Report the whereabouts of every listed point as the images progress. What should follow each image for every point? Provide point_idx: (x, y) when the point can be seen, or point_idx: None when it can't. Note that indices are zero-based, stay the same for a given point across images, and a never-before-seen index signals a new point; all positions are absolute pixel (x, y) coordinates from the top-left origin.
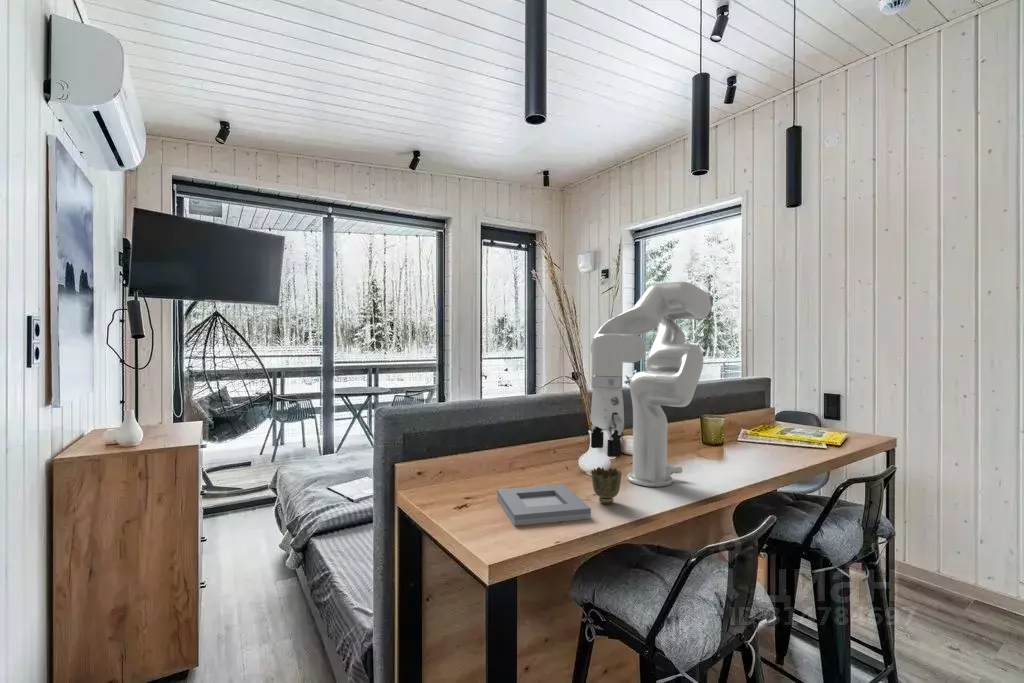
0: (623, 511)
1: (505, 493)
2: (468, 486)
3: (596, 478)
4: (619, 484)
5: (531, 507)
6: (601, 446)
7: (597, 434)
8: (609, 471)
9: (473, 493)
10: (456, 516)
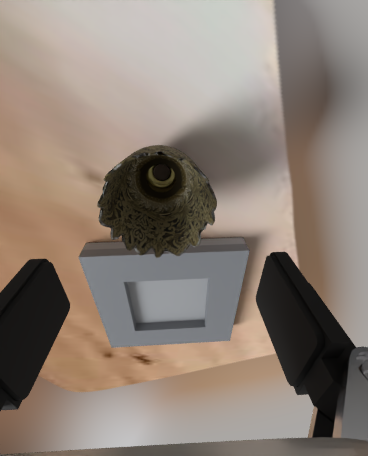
0: (231, 154)
1: (134, 341)
2: (52, 353)
3: (180, 243)
4: (193, 162)
5: (208, 323)
6: (51, 272)
7: (13, 371)
8: (112, 177)
9: (87, 350)
10: (176, 363)
